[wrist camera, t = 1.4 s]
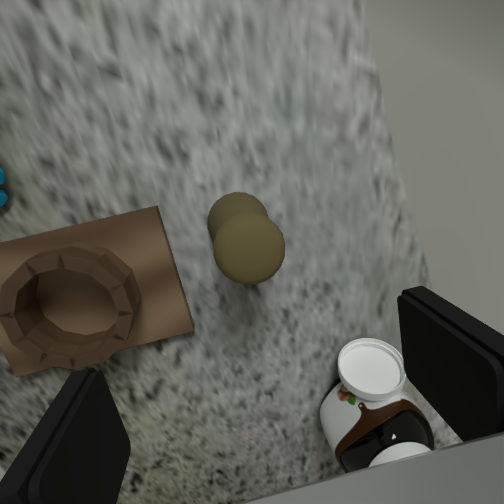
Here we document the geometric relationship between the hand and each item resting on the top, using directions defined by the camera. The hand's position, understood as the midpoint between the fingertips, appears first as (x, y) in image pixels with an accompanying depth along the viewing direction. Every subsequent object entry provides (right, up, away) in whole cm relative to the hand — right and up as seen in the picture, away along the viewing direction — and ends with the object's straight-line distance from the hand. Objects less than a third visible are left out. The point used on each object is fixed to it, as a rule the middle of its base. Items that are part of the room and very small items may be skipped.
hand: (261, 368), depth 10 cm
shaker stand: (-16, 0, +23) cm, 28 cm away
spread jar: (+12, -12, +30) cm, 35 cm away
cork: (-2, +6, +23) cm, 24 cm away
